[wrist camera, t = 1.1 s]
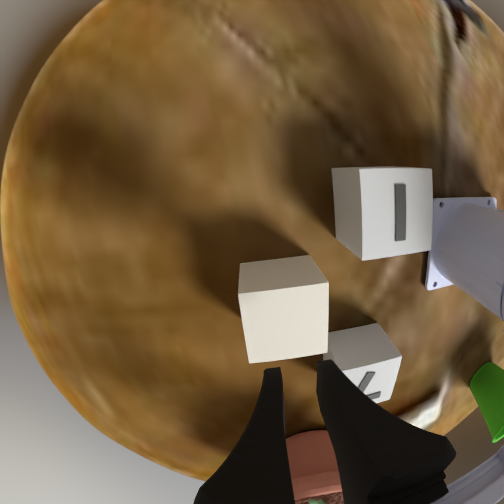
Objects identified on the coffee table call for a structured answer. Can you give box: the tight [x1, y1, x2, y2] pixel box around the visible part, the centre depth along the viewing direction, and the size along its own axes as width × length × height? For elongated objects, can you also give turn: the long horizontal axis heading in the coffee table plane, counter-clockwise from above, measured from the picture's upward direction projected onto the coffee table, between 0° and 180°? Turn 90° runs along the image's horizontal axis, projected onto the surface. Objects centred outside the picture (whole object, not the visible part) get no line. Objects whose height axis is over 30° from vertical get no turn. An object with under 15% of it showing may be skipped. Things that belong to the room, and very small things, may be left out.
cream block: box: [238, 255, 329, 363], centre depth 18 cm, size 5×5×5 cm
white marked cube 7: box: [323, 323, 402, 403], centre depth 20 cm, size 5×5×5 cm
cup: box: [470, 362, 504, 443], centre depth 20 cm, size 9×9×11 cm
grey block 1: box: [331, 166, 433, 261], centre depth 16 cm, size 5×5×5 cm
